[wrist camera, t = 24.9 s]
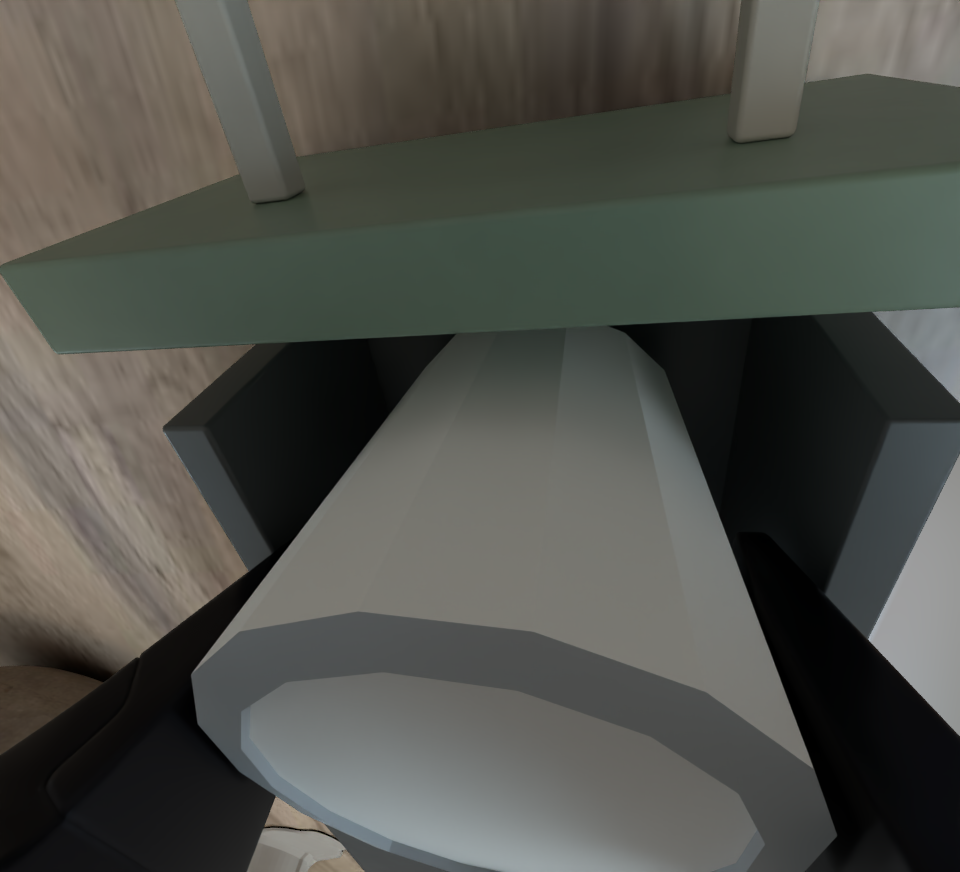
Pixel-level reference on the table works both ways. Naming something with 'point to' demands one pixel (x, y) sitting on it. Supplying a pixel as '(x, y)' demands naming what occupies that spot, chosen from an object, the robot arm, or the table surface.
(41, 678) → the ceramic bowl
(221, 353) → the table surface
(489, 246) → the drawer
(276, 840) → the candle
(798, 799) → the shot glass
